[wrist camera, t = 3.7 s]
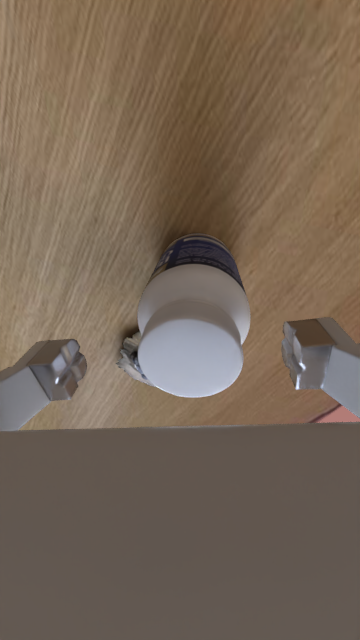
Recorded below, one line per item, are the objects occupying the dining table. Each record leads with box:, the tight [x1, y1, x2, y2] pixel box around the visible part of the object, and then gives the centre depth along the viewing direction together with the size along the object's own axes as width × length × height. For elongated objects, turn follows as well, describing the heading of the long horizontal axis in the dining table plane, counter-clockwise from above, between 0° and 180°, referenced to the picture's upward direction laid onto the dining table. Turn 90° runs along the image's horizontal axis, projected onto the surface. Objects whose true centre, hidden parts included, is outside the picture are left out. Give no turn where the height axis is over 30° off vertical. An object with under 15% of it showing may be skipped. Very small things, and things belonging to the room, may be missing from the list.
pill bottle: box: [137, 234, 250, 397], centre depth 13 cm, size 5×5×10 cm
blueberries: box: [116, 331, 157, 387], centre depth 21 cm, size 7×8×2 cm
